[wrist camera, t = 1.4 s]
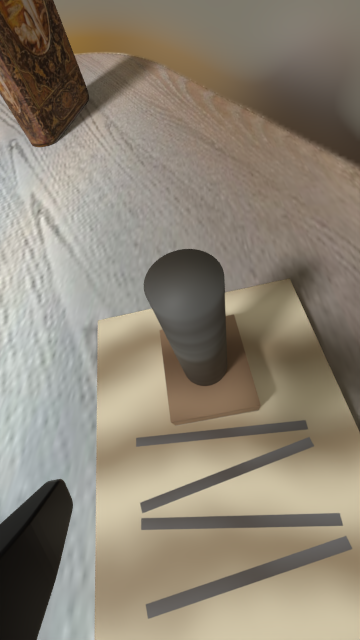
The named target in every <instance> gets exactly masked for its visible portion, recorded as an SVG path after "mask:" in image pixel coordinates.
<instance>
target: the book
mask: <svg viewBox="0 0 360 640" xmlns="http://www.w3.org/2000/svg"><path fill="white" fill-rule="evenodd" d="M0 94H1V96H2V97H3V99H4V101H5V102H6V104H7V105H8V107H9V109H10V110H11V112H12V113H13V115H14V117H15V118H16V120H17V122H18V123H19V125H20V126H21V128H22V130H23V131H24V133H25V134H26V136H27V138H28V139H29V141H30V142H31V144H32V145H33V146H35V147H44V146H49V145H52V144H54V143H56V142H57V141H58V139H59V138H60V137H61V136H62V134H63V133H64V132H65V130H66V129H67V128H68V126H69V125H70V124H71V123H72V121H73V120H74V119H75V117H76V116H77V115H78V114H79V112H80V111H81V110H82V108H83V107H84V105H85V104H86V102H87V101H88V99H89V94H88V91H87V88H86V85H85V82H84V79H83V77H82V74H81V72H80V69H79V66H78V64H77V61H76V59H75V56H74V53H73V51H72V48H71V45H70V43H69V40H68V38H67V35H66V32H65V30H64V27H63V25H62V22H61V19H60V17H59V14H58V12H57V9H56V6H55V4H54V1H53V0H0Z"/></svg>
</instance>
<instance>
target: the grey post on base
mask: <svg viewBox="0 0 360 640" xmlns="http://www.w3.org/2000/svg"><path fill="white" fill-rule="evenodd" d="M144 292H145V295H146V298H147V300H148V301H149V303H150V305H151V307H152V309H153V311H154V313H155V315H156V317H157V319H158V321H159V323H160V325H161V327H162V329H163V330H159V331H160V339H161V347H162V355H163V364H164V372H165V380H166V388H167V396H168V404H169V412H170V421H171V423H172V424H174V425H175V426H179V425H185V424H190V423H196V422H201V421H206V420H212V419H217V418H223V417H228V416H234V415H239V414H244V413H250V412H255V411H258V410H259V408H260V406H261V404H260V401H259V397H258V394H257V391H256V387H255V384H254V380H253V377H252V374H251V370H250V367H249V364H248V360H247V357H246V353H245V350H244V347H243V343H242V340H241V336H240V333H239V330H238V326H237V323H236V319H235V316H234V314H233V315H228V316H226V312H225V283H224V272H223V269H222V266H221V265H220V263H219V262H218V261H217V259H215V258H214V257H213V256H212V255H210V254H208V253H206V252H203V251H200V250H195V249H182V250H177V251H174V252H171V253H168V254H166V255H164V256H163V257H161V258H160V259H158V260H157V261H156V262H155V263H154V264H153V265H152V266H151V267H150V269H149V270H148V272H147V274H146V277H145V280H144Z"/></svg>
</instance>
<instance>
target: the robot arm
mask: <svg viewBox="0 0 360 640" xmlns="http://www.w3.org/2000/svg"><path fill="white" fill-rule="evenodd" d="M72 509H73V502H72V498H71V496H70V493H69V491H68V489H67V487H66V484H65V482H64V481H63V480H62V479H57V480H52V481H48V482H46V483H45V484H44V485H43V486H42V487H41V488H40V489H38V490H37V491H36V492H35V493H34V494H33V495H32V496H31V497H30V498H29V499H27V500H26V501H25V502H24V503H23V504H22V505H21V506H20V507H19V508H18V509H16V510H15V511H14V512H13V513H12V514H11V515H10V516H9V517H8V518H7V519H5V520H4V521H3V522H2V523H1V524H0V640H37V637H38V634H39V630H40V627H41V624H42V621H43V618H44V615H45V612H46V608H47V605H48V602H49V599H50V596H51V593H52V590H53V586H54V583H55V580H56V576H57V573H58V569H59V565H60V561H61V556H62V552H63V548H64V544H65V539H66V535H67V531H68V526H69V522H70V518H71V514H72Z"/></svg>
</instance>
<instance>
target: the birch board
mask: <svg viewBox="0 0 360 640" xmlns="http://www.w3.org/2000/svg"><path fill="white" fill-rule="evenodd" d="M225 312H226V316H228V315H233V314H234V316H235V319H236V323H237V326H238V330H239V333H240V336H241V340H242V343H243V347H244V350H245V353H246V357H247V360H248V364H249V367H250V370H251V374H252V377H253V380H254V384H255V387H256V391H257V394H258V397H259V401H260V404H261V406H260V408H259V410H258V411H255V412H250V413H244V414H239V415H234V416H228V417H223V418H217V419H212V420H206V421H201V422H196V423H190V424H185V425H179V426H175V425H174V424H172V423H171V421H170V412H169V404H168V396H167V388H166V380H165V372H164V364H163V355H162V347H161V339H160V331H159V330H163V329H162V327H161V325H160V323H159V321H158V319H157V317H156V315H155V313H154V311H153V309H148V310H144V311H139V312H135V313H130V314H126V315H121V316H116V317H112V318H107V319H103V320H98V369H97V465H96V561H95V640H360V432H359V430H358V427H357V425H356V423H355V421H354V419H353V417H352V414H351V412H350V410H349V408H348V406H347V403H346V401H345V399H344V397H343V395H342V392H341V390H340V388H339V386H338V384H337V381H336V379H335V377H334V375H333V373H332V370H331V368H330V366H329V364H328V362H327V360H326V357H325V355H324V353H323V351H322V349H321V346H320V344H319V342H318V340H317V338H316V335H315V333H314V331H313V329H312V327H311V324H310V322H309V320H308V318H307V316H306V313H305V311H304V309H303V307H302V305H301V303H300V300H299V298H298V296H297V294H296V292H295V289H294V287H293V285H292V283H291V281H290V278H289V279H285V280H280V281H275V282H271V283H266V284H262V285H257V286H253V287H248V288H244V289H239V290H235V291H230V292H225Z"/></svg>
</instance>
